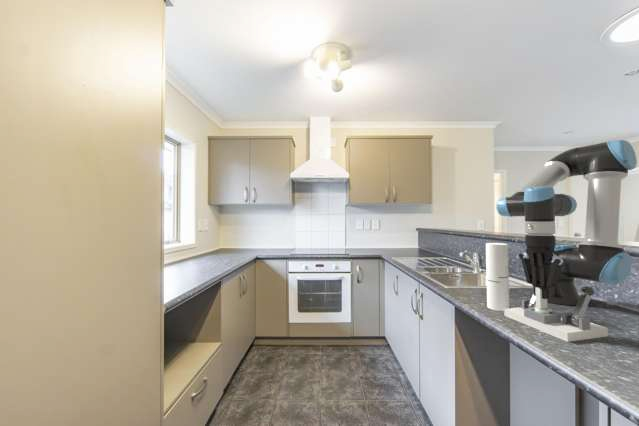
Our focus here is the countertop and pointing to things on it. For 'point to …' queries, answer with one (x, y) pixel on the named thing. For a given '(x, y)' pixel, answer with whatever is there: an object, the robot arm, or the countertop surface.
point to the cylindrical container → (497, 276)
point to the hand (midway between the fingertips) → (541, 307)
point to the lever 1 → (531, 302)
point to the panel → (556, 323)
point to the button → (542, 310)
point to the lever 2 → (581, 306)
